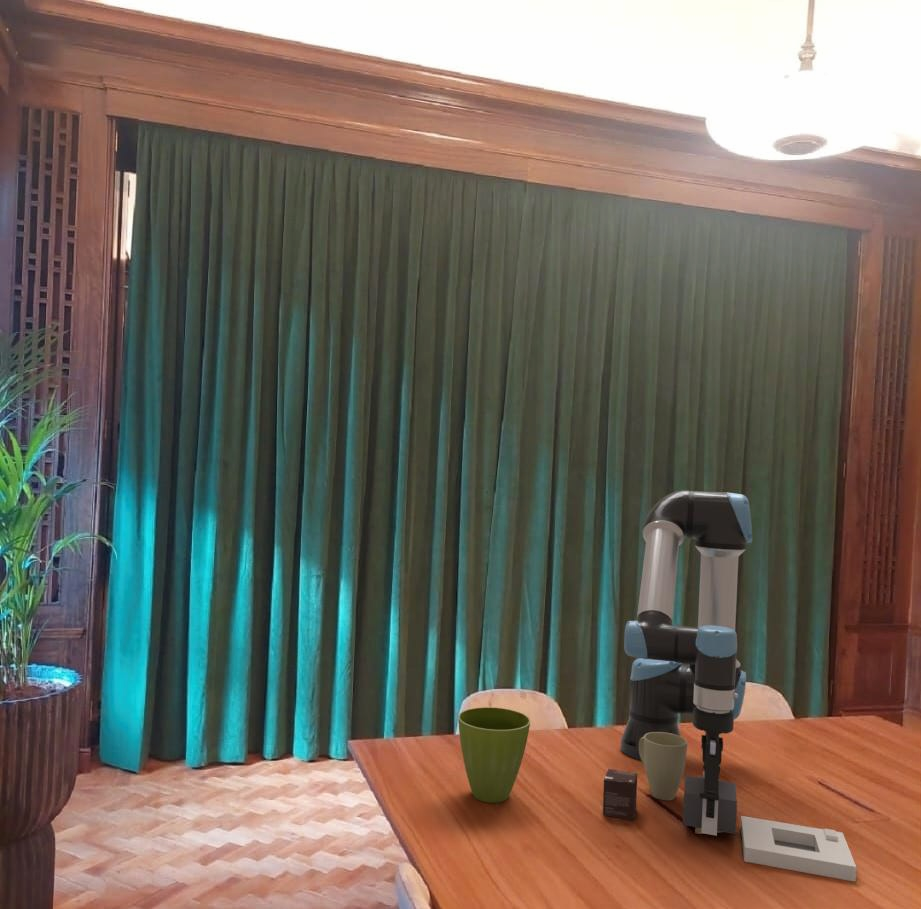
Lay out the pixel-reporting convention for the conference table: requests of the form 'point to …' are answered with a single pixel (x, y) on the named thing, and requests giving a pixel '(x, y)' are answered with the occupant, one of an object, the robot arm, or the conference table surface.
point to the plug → (695, 804)
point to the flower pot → (492, 750)
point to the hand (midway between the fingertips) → (708, 819)
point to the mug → (663, 762)
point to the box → (620, 794)
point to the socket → (797, 848)
